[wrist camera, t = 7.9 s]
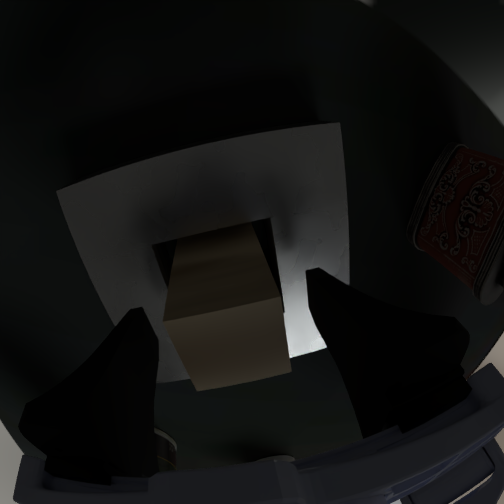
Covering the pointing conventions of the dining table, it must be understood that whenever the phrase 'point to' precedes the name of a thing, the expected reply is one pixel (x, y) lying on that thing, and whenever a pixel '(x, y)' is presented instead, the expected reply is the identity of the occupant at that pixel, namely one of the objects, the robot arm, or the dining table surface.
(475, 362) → the dining table surface
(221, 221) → the square hole board
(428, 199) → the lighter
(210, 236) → the peg
